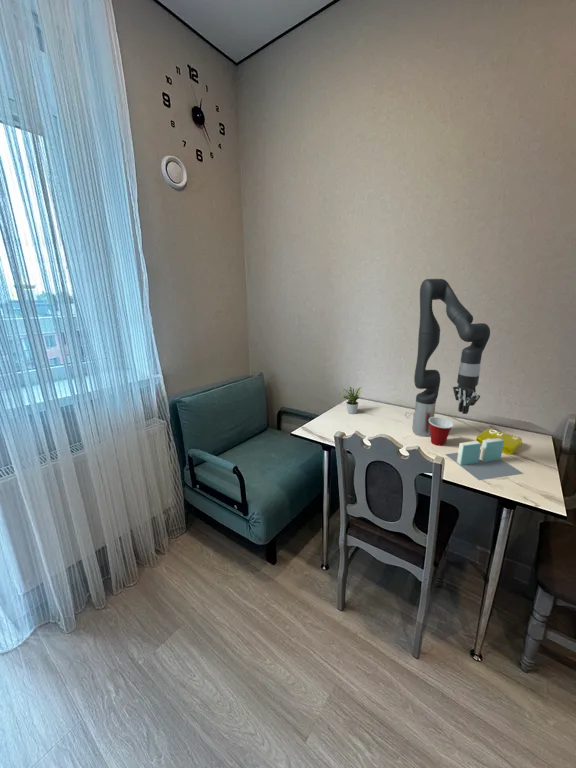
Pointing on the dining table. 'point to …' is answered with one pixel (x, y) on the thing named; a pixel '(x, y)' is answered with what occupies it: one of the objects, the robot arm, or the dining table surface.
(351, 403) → the house plant
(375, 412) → the dining table surface
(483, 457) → the tile
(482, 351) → the robot arm
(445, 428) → the plastic cup
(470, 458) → the tile
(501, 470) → the mat
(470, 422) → the dining table surface
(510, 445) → the element tile
